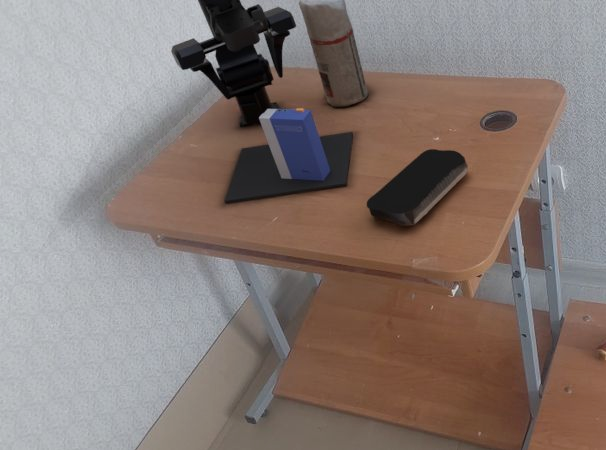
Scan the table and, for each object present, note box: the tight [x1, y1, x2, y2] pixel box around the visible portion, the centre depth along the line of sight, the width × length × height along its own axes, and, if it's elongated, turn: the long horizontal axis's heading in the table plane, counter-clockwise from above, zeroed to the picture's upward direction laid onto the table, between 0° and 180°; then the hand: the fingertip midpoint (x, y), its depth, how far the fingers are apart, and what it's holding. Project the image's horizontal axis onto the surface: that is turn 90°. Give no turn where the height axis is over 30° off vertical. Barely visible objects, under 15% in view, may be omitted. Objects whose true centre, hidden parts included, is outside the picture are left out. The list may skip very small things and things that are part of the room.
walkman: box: [259, 107, 330, 181], centre depth 111 cm, size 8×3×12 cm, turn 73°
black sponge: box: [366, 148, 468, 226], centre depth 105 cm, size 16×8×4 cm, turn 144°
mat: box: [223, 131, 354, 205], centre depth 118 cm, size 15×20×1 cm
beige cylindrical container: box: [298, 0, 369, 108], centre depth 127 cm, size 8×8×20 cm
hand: (254, 88), depth 113 cm, fingers open, 9 cm apart
